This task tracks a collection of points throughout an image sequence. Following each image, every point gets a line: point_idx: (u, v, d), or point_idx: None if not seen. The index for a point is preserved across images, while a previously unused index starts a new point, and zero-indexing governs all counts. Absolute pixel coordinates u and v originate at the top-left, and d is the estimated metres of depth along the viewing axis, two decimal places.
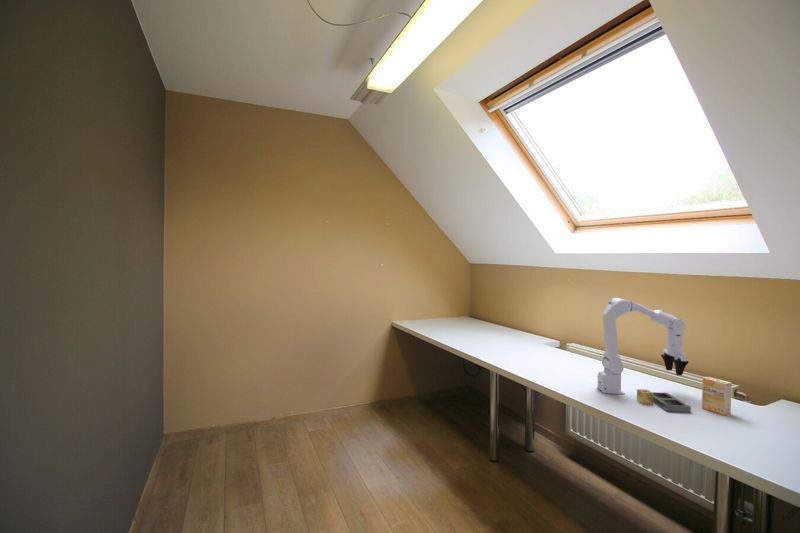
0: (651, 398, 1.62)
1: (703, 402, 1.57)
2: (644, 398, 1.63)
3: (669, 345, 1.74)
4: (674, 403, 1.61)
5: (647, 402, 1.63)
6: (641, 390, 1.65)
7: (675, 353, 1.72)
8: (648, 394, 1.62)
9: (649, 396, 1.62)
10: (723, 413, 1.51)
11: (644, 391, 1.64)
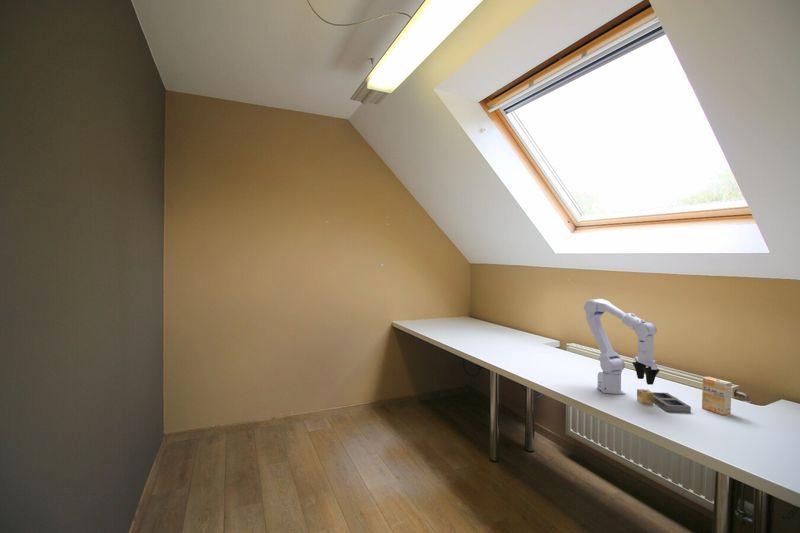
0: (651, 398, 1.62)
1: (703, 402, 1.57)
2: (644, 398, 1.63)
3: (640, 352, 1.64)
4: (674, 403, 1.61)
5: (647, 402, 1.63)
6: (641, 390, 1.65)
7: (646, 361, 1.62)
8: (648, 394, 1.62)
9: (649, 396, 1.62)
10: (723, 413, 1.51)
11: (644, 391, 1.64)
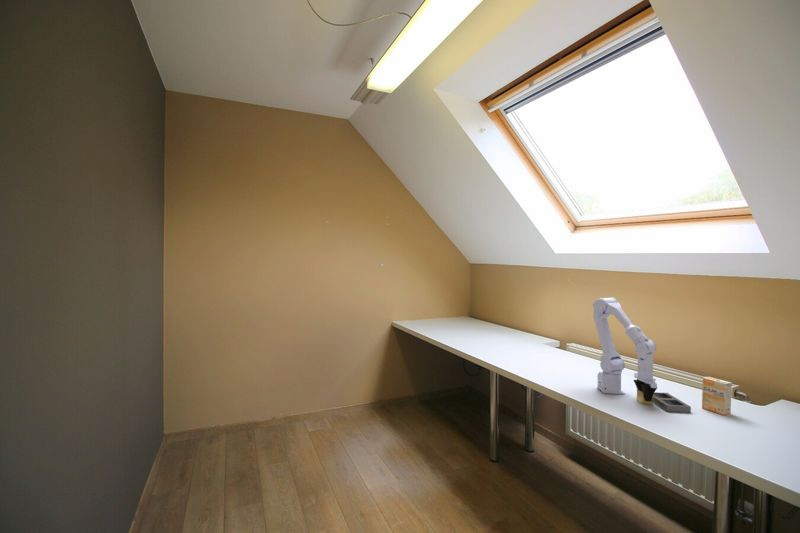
0: None
1: (703, 402, 1.57)
2: (644, 398, 1.63)
3: (639, 370, 1.64)
4: (674, 403, 1.61)
5: (647, 402, 1.63)
6: (641, 390, 1.65)
7: (645, 379, 1.62)
8: None
9: None
10: (723, 413, 1.51)
11: None
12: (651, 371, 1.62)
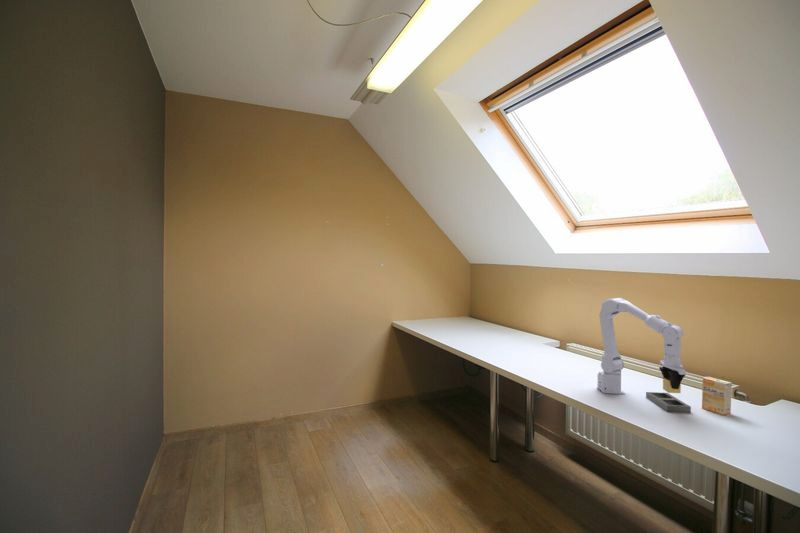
0: None
1: (703, 402, 1.57)
2: (671, 387, 1.56)
3: (666, 356, 1.57)
4: (674, 403, 1.61)
5: (674, 391, 1.56)
6: (667, 378, 1.59)
7: (673, 365, 1.55)
8: None
9: None
10: (723, 413, 1.51)
11: None
12: (679, 357, 1.55)
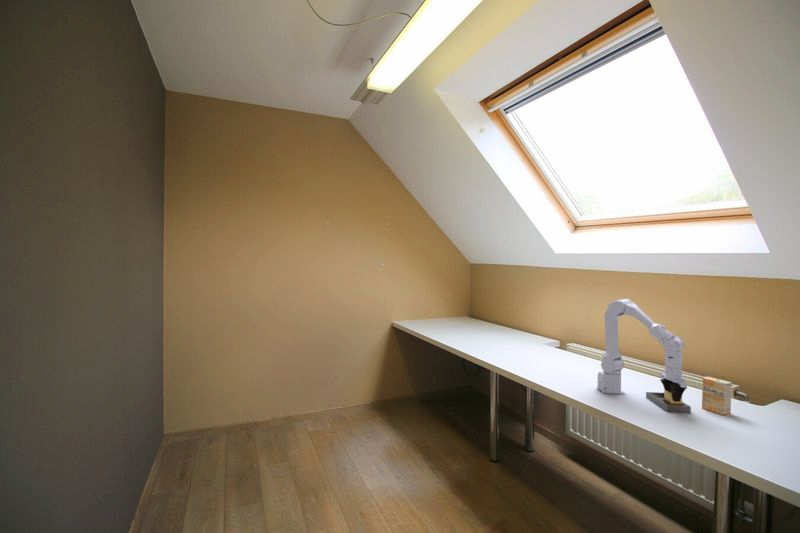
0: None
1: (703, 402, 1.57)
2: None
3: (667, 369, 1.57)
4: None
5: (676, 403, 1.56)
6: (669, 390, 1.59)
7: (674, 378, 1.55)
8: None
9: None
10: (723, 413, 1.51)
11: None
12: (680, 370, 1.55)
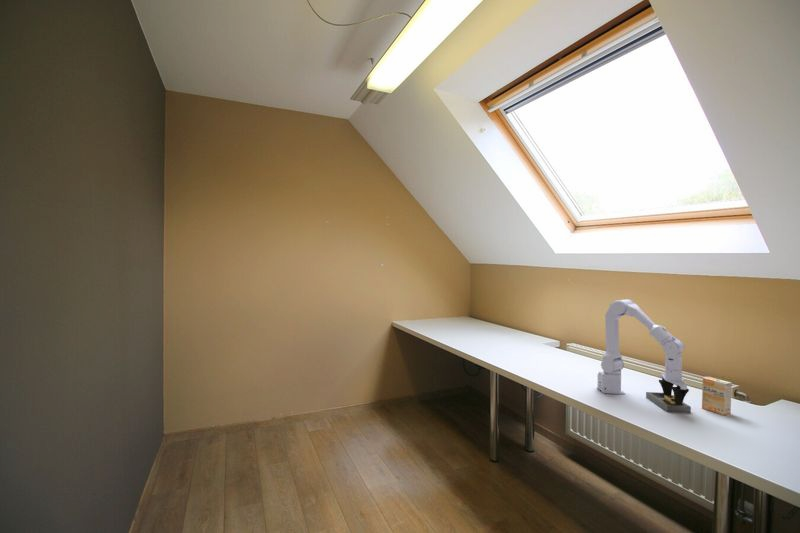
0: None
1: (703, 402, 1.57)
2: None
3: (667, 370, 1.57)
4: None
5: None
6: (669, 396, 1.59)
7: (674, 380, 1.55)
8: None
9: None
10: (723, 413, 1.51)
11: (672, 397, 1.57)
12: (680, 372, 1.55)
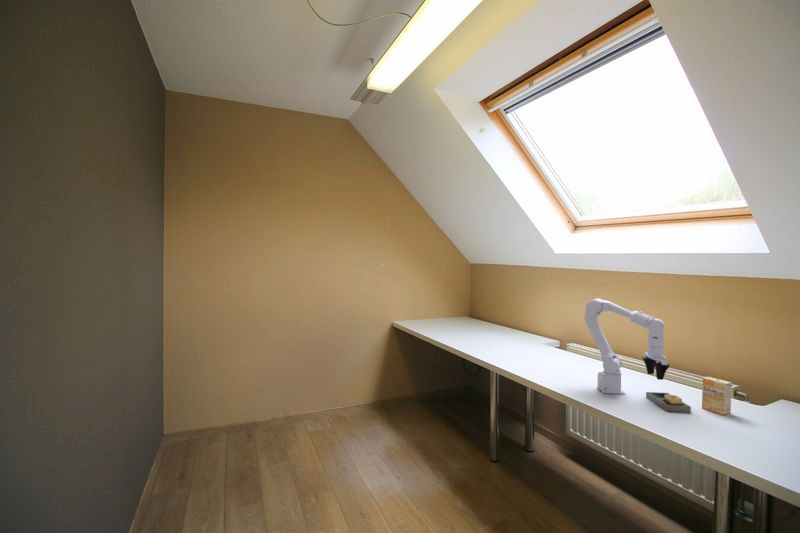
0: (680, 404, 1.55)
1: (703, 402, 1.57)
2: None
3: (650, 348, 1.67)
4: None
5: None
6: (669, 396, 1.59)
7: (656, 356, 1.65)
8: (677, 400, 1.56)
9: (677, 402, 1.56)
10: (723, 413, 1.51)
11: (672, 397, 1.57)
12: (661, 349, 1.65)
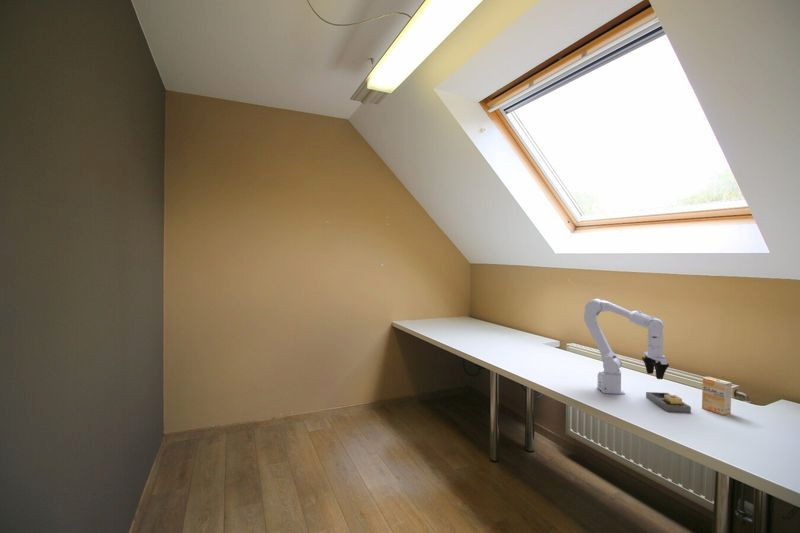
0: (680, 404, 1.55)
1: (703, 402, 1.57)
2: None
3: (649, 347, 1.67)
4: None
5: None
6: (669, 396, 1.59)
7: (655, 356, 1.65)
8: (677, 400, 1.56)
9: (677, 402, 1.56)
10: (723, 413, 1.51)
11: (672, 397, 1.57)
12: (661, 348, 1.65)
